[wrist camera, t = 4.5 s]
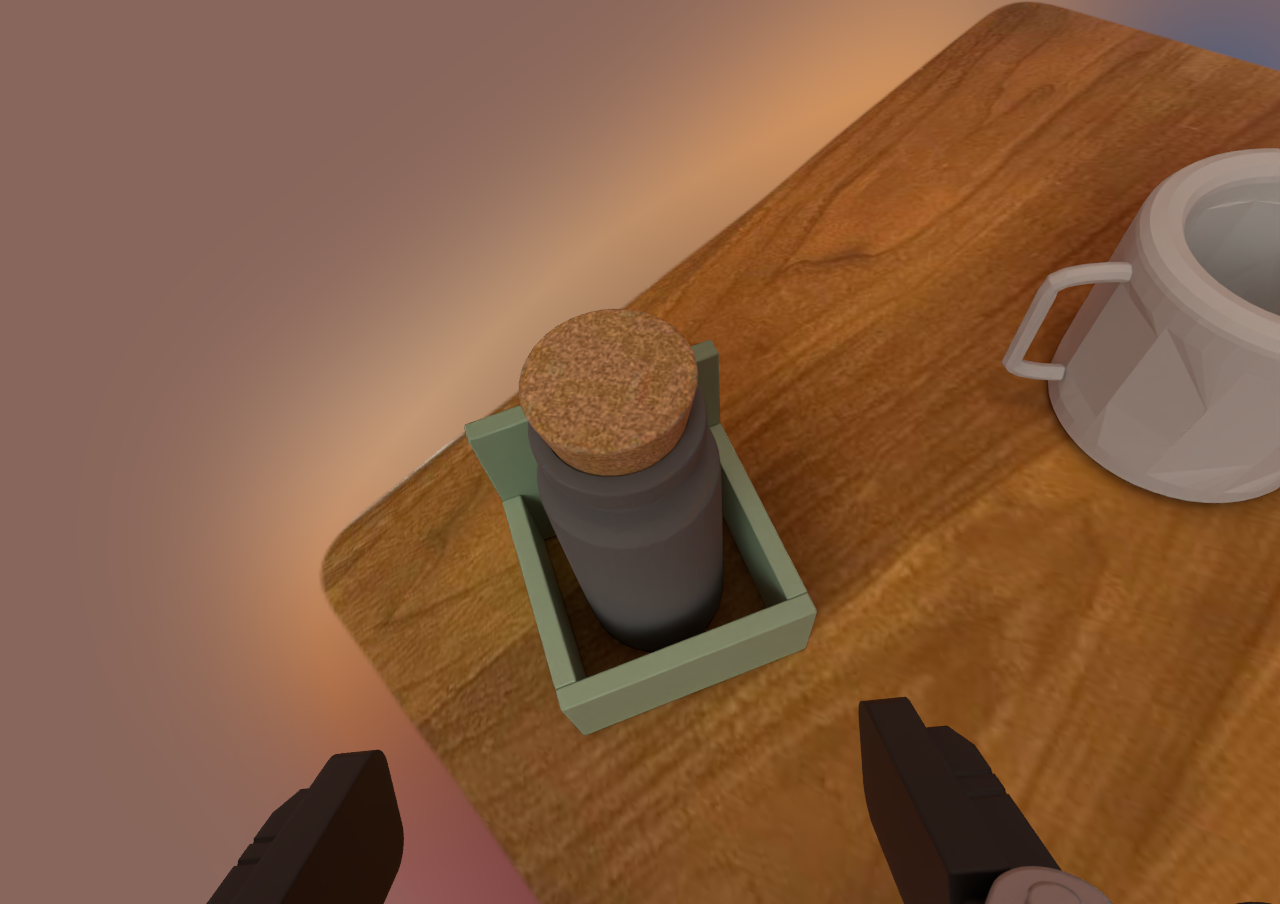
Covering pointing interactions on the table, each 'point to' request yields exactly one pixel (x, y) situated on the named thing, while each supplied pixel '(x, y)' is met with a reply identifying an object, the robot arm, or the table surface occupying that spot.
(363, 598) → the table surface
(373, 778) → the robot arm
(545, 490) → the bottle
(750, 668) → the holder
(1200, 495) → the mug
